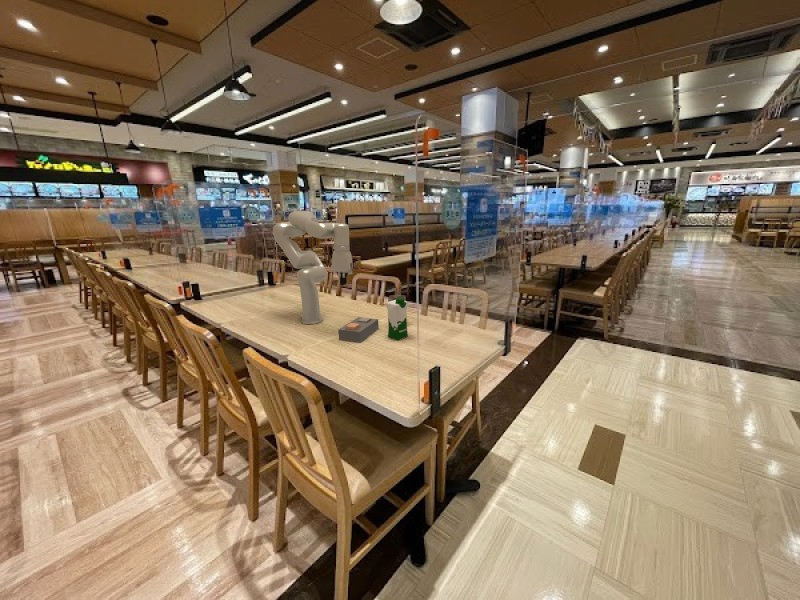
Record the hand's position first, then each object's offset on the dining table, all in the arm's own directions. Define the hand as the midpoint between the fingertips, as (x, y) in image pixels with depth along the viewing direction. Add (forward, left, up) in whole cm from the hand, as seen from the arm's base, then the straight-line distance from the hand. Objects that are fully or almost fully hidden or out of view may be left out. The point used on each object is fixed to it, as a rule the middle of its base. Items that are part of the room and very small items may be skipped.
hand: (343, 284), depth 164 cm
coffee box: (+23, +16, -25) cm, 38 cm away
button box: (+10, -4, -25) cm, 27 cm away
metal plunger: (+10, +2, -24) cm, 26 cm away
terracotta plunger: (+10, -10, -23) cm, 27 cm away
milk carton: (+30, -1, -25) cm, 39 cm away
